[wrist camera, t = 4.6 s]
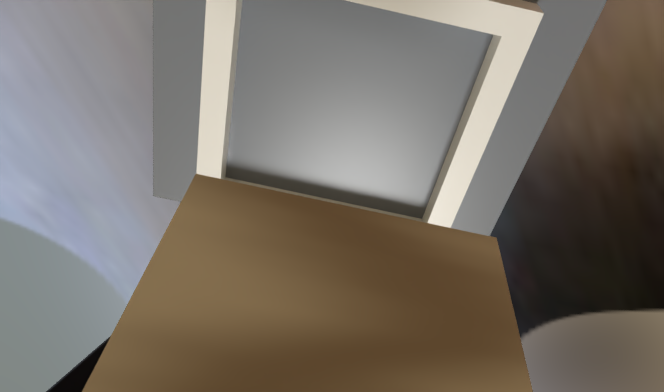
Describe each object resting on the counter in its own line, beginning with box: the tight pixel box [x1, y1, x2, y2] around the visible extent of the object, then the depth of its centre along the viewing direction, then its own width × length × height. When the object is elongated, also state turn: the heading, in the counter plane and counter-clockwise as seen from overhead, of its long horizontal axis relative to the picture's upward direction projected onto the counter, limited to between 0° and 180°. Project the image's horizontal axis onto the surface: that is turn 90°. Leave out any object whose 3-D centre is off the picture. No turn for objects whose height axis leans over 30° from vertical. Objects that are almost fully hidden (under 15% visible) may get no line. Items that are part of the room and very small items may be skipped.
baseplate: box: [153, 0, 607, 236], centre depth 17 cm, size 12×10×2 cm
